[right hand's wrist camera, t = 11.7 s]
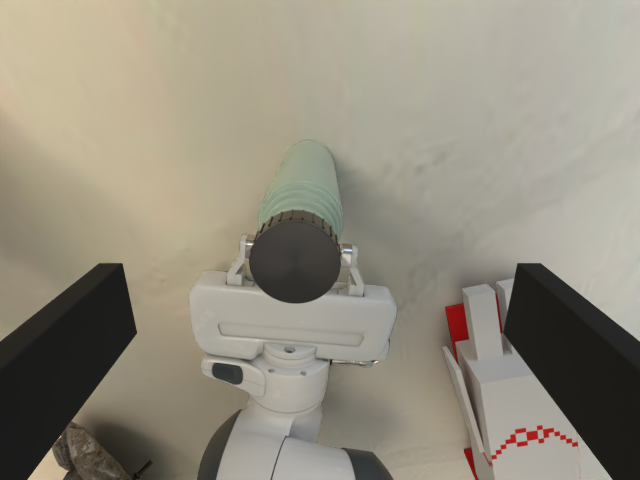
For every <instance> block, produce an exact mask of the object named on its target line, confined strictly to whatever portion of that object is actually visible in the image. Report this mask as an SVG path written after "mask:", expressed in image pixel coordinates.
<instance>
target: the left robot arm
mask: <svg viewBox="0 0 640 480" xmlns="http://www.w3.org/2000/svg"><path fill="white" fill-rule="evenodd" d="M255 236H256V235H248V234H243V235H242V237H241V240H240V253H239V254H238V256H237V257H236V259H235V260H234V261H233V263H232V264H231V266H230V268H229V271H228V272H224V271H214V270H205V271H203V272H202V273H201V274H200V275H199V276H198V277H197V278H196V279H195V281H194V282H193V284H192V286H191V288H190V291H189V312H190V320H191V326H192V331H193V336H194V339H195V341H196V343H197V345H198V346H199V347H200V348H201V349H202V350H203V351H204V354H203V358H202V363H201V371H202V373H203V374H204V375H205V376H207V377H210V378H213V379H216V380H219V381H222V382H224V383H227V384H230V385H232V386H235V387H237V388H239V389H242V390H244V391H246V392H248V394H249V399H248V403H247V406H246V408H245V409H244V410H242V409H240V410H239V411H237V412H236V413H235V414H233V415H232V416H231V417H230V418H229V419H228V420H227V421H226V422H225V423H223V424H222V425H221V426H220V427H219V429H218V430H217V431H216V432H215V434H214V435H213V437H212V438H211V440H210V442H209V444H208V446H207V448H206V450H205V452H204V455H203V457H202V460H201V464H200V467H199V472H198V477H197V480H393V478H392V476H391V475H390V473H389V472H388V470H387V469H386V467H385V466H384V465H383V464H382V462H381V461H380V460H379V459H378V458H377V456H376V455H375V454H374V453H373V452H369V451H362V450H355V449H348V448H341V449H339V448H335V447H331V446H327V445H322V444H318V438H319V434H320V429H321V423H322V406H321V402H322V400H323V398H324V396H325V393H326V388H327V381H328V374H329V366H330V365H342V366H347V365H348V366H350V365H353V366H359V367H371V366H372V364H377V363H379V362H381V361H384V360H385V359H386V357H387V354H388V349H389V345H390V340H389V336H390V334H391V331H392V328H393V325H394V322H395V318H396V314H397V306H396V302H395V299H394V297H393V295H392V293H391V292H390V291H389V289H388V288H387V287H385V286H377V285H366V284H364V281H363V277H362V274H361V272H360V270H359V268H358V265H357V263H356V262H357V256H358V248H357V245H352V244H341V256H340V260H341V267H349V270H350V272H351V274H352V275H349V276H348V282H347V283H344V282H335V284H334V285H333V286H332V288H331V289H330V290H329V291H328V292H327V293H326V294H324V295H323V296H322V297H320V298H318V299H316V300H313V301H311V302H307V303H301V304H292V303H285V302H281V301H278V300H276V299H274V298H272V297H270V296H269V295H267V294H266V293H265V292H263V291H262V290H261V289H260V288H259V286H258V285H257V284H256V282H255V280H254V279H253V276H252V274H246V266H245V265H242V264H243V262H244V261H245V260H246V258H250V250H251V247H252V245H253V243H254V242H253V241H254V238H255Z"/></svg>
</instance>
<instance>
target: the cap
mask: <svg viewBox="0 0 640 480" xmlns="http://www.w3.org/2000/svg"><path fill="white" fill-rule="evenodd" d="M253 242H254V243H253V245H252V247H251V250H250V259H249V264H250V270H251V274H252V276H253V279H254V280H255V282H256V284H257V285H258V286H259V288H260V289H261V290H262V291H263V292H265V293H266V294H267V295H269V296H270V297H272V298H274V299H276V300H278V301H281V302H285V303H292V304H301V303H307V302H311V301H313V300H316V299H318V298H320V297H322V296H323V295H324V294H326V293H327V292H328V291H329V290H330V289H331V288H332V286H333V285H334V284H335V282H336V280H337V278H338V275H339V272H340V266H341V260H340V256H341V250H340V244H338V237H337V234H335V232H334V231H333V229H332V226H330V225H329V224H328V223H327V222H326V221H325V219H324V218H323V219H322V218H321V217H319V216H318V215H316V214H315V213H311V212H307V211H304V210H293V209H292V210H290V211H285V212H282V211H281V212H280V213H279V214H277V215H275V216H271V218H270V219H269V220H268V221H266V222H265V223H263V225H262V227H261V229H260V231H258V232H257V234H256V236H255V238H254V241H253Z"/></svg>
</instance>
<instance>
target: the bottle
mask: <svg viewBox="0 0 640 480" xmlns="http://www.w3.org/2000/svg"><path fill="white" fill-rule="evenodd" d="M292 209H293V210H304V211H307V212H311V213H315V214H316V215H318V216H319V217H321V218H322V219H323V218H324V219H325V221H326V222H327V223H328V224H329V225H330V226H332V229H333V231H334V232H335V234H337V237H338V242H339V240H340V237H341V234H342V230H343V224H344V218H343V211H342V206H341V200H340V194H339V189H338V183H337V177H336V172H335V166H334V161H333V157H332V155H331V153H330V151H329V150H328V148H327V147H325V146H324V145H323V144H321V143H319V142H317V141H313V140H304V141H300V142H298V143H296V144H295V145H293V146H292V147H291V148H290V149H289V151H288V152H287V154H286V156H285V158H284V160H283V162H282V164H281V166H280V168H279V170H278V172H277V174H276V176H275V178H274V180H273V182H272V184H271V186H270V188H269V190H268V192H267V194H266V196H265V198H264V200H263V202H262V204H261V207H260V210H259V215H258V227H259V231H260V229H261V227H262V225H263V223H265V222H266V221H268V220H269V219H270V218H271V216H275V215H277V214H279V213H280V212H281V211H282V212H285V211H290V210H292Z"/></svg>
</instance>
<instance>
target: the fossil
mask: <svg viewBox="0 0 640 480" xmlns="http://www.w3.org/2000/svg"><path fill="white" fill-rule="evenodd" d="M61 436H62V437H61V438H60V439H58V440H57V441H56V443H55V444H54V445H53V446H52V450H53V453H54V456H55V458H56V460H57V462H58V464H59V466H61V467H63V468H64V469H65V470H68V471H69V472H67V474H66V476H65V477H64V479H63V480H136V479H139V478H140V475H141V474H142V473H143V472H144V471H145V470H146V469H147V468H148V467H149V466H150V465H151V464H152V463H153V462H152V461H151V460H150V461H149V462H148V463H147V464H146V465H145V466H144V467H143V468H142V469H141V470H140V471H139V472H138V473H134V477H133V478H132V479H131V477H130V476H129V475H128V474H127V473H126V472H125V471H124V469H123V468H122V466H121V465H120V464H119V463H118V462H117V461H116V460H115V459H114V458H113V457H112V456H111V455H110V454H109V453H108V452H107V451H106V450H104V447H102V446H101V445H100V444H99V443H98V442H97V440H96V439H95V438H94V437H92V436H91V435H90V434H89V433H88V432H87V431H86V430H85V429H84V428H83V427H81V426H79V425H77V424H75V423H73V422H72V421H71V422H70V423H69V425H68V426H67V427H66V429H65V430H64V431H63V433H62V434H61Z"/></svg>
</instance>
